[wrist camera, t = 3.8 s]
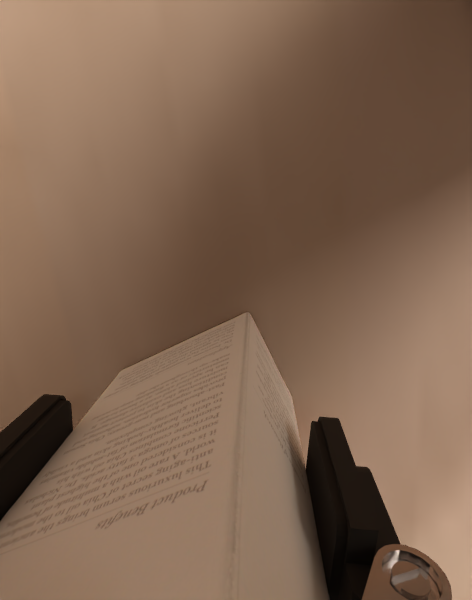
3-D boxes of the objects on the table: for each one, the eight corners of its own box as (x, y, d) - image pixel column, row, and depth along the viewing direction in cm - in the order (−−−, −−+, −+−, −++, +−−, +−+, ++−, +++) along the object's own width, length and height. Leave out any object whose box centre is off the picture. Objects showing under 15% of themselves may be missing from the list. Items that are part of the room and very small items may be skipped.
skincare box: (170, 450, 16) (-50, 1049, 5) (120, 368, 16) (-294, 854, 4) (298, 397, 15) (414, 1001, 4) (252, 306, 14) (217, 719, 3)
